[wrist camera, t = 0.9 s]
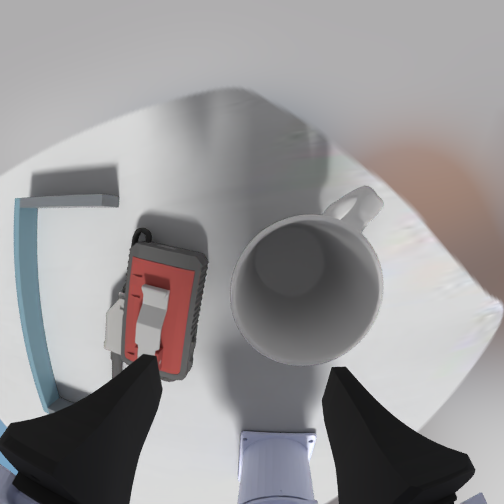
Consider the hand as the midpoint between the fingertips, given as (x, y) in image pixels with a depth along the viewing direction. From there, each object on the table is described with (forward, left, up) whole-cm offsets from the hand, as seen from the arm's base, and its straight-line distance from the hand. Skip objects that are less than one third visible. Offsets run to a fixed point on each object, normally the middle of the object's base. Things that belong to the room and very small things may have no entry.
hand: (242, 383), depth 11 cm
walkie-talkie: (-5, +9, -14) cm, 18 cm away
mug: (+5, -3, -14) cm, 15 cm away
